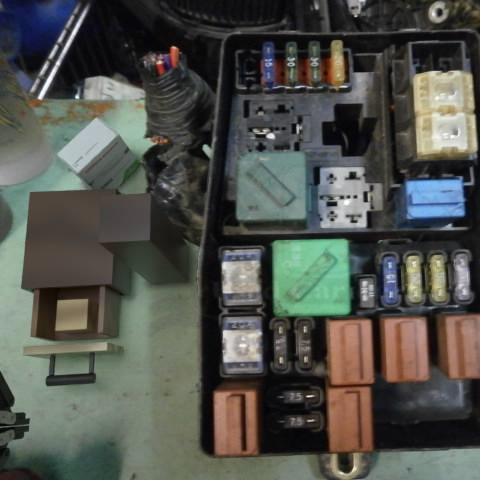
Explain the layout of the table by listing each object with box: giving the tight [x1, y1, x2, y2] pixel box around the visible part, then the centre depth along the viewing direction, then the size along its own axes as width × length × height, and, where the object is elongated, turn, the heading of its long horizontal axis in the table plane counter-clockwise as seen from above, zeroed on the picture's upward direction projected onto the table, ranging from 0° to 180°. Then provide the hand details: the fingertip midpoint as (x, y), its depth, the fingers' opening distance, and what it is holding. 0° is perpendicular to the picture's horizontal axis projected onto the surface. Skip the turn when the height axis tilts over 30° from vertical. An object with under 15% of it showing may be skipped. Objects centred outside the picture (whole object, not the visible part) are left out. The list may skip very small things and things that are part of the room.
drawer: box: [22, 285, 124, 387], centre depth 79 cm, size 18×11×7 cm, turn 4°
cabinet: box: [20, 188, 133, 297], centre depth 83 cm, size 15×13×9 cm
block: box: [55, 299, 99, 334], centre depth 80 cm, size 4×4×4 cm
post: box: [98, 192, 190, 285], centre depth 75 cm, size 6×6×24 cm
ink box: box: [56, 116, 141, 189], centre depth 85 cm, size 9×5×12 cm, turn 141°
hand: (21, 425), depth 62 cm, fingers closed
